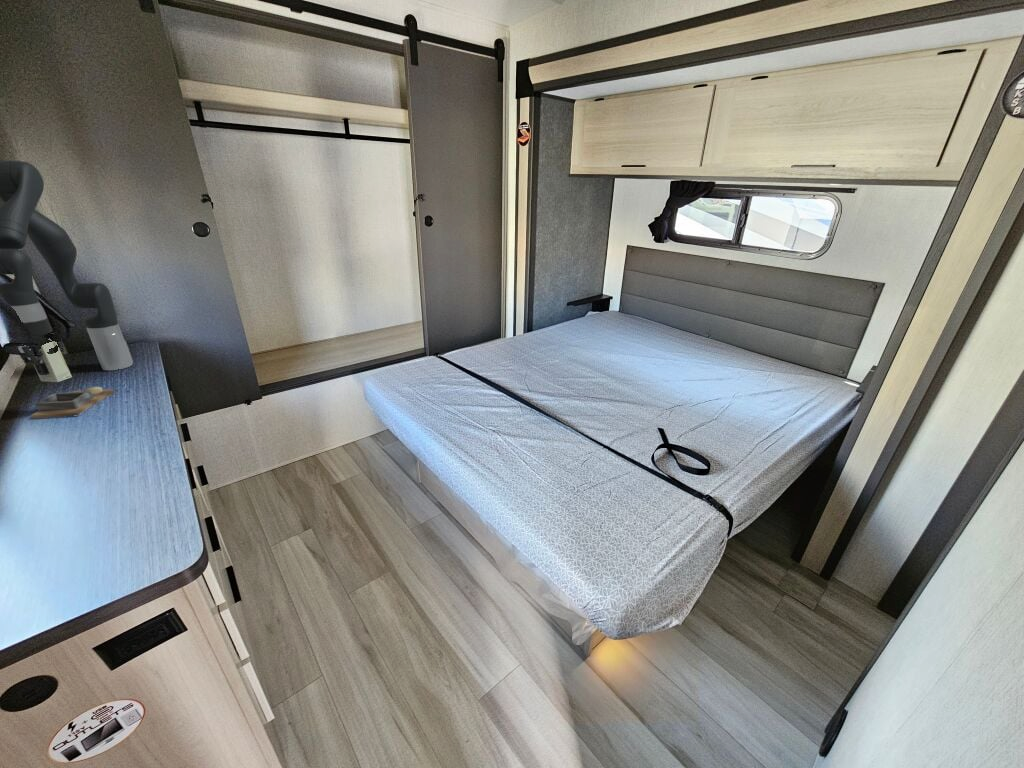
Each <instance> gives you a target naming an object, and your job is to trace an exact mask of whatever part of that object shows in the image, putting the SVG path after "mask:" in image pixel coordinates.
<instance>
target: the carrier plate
mask: <svg viewBox="0 0 1024 768" xmlns="http://www.w3.org/2000/svg"><path fill="white" fill-rule="evenodd" d="M112 393H113V394H114V393H115V390H114V389H113V388H105V389H103V388H102V387H101V386H92V387H89V388H85V389H83V390H72V391H67V392H54V393H52V394H50V395H48V396H46V397H45V398H42V399H41V400H39V401H38V402H36V403H35V407H36V410H37V411H36V412H34V413H32V414H30V417H31V419H32V420H35V419H38V418H39V419H51V418H50V417H57V418H65V417H64V416H74V415H79V414H80V413H82V412H83V411H85V410H86V409H88V408H90V407H91V406H93V405H94V404H96V403H97V402H99V401H101V400H102V399H104V398H105V397H107V396H108V397H110V396H111V395H112ZM110 394H111V395H110ZM109 395H110V396H109ZM108 397H107V398H108ZM105 399H106V398H105ZM105 399H104V400H105ZM102 401H103V400H102ZM102 401H101V402H102ZM99 403H100V402H99ZM96 405H97V404H96ZM93 407H94V406H93ZM90 409H91V408H90ZM48 417H49V418H48Z"/></svg>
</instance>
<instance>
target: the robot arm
mask: <svg viewBox="0 0 1024 768" xmlns="http://www.w3.org/2000/svg"><path fill="white" fill-rule="evenodd" d="M40 172H41V171H40V170H39V169H38V168H37V167H36V166H35V165H33V164H32V163H30V162H27V161H21V160H0V199H1V200H2V202H3V204H2V205H1V206H0V276H1V275H2V276H3V275H6V276H7V275H13V277H14V278H13V281H11V282H5V283H1V284H0V295H1V296H2V297H3V298H4V300H5V301H6V302H7V303H8V304H10V305H11V307H12V308H13V309H14V310H15V311H16V313H17V315H18V316H19V318H20V320H21V322H23V323H24V324H25V327H27V330H28V331H29V333H31V336H40V335H45V334H48V333H50V334H52V332H53V328H52V326H51V324H50V321H49V318H48V316H47V314H46V311H45V309H44V307H43V306H42V303H41V302H40V300H39V298H38V295H37V293H36V291H35V288H34V287H35V286H34V281H33V262H32V259H31V257H30V256H29V255H28V254H27V253H26V252H25V251H23V250H22V249H23V248H24V247H25V246H26V243H27V236H28V238H29V240H30V241H31V242H32V244H33V245H34V247H35V248H36V250H37V251H38V253H39V254H40V255H41V257H42V258H43V259H44V260H45V262H46V263H47V265H48V267H49V268H50V270H51V271H52V273H53V275H54V276H55V278H56V280H57V282H58V283H59V286H60V287H61V289H62V290H63V292H64V295H65V296H66V298H67V300H68V301H69V302H70V304H71V305H73V307H75V308H77V309H96V310H97V314H95V315H92V316H89V317H87V318H85V319H83V321H84V322H83V324H84V326H85V327H86V331H87V333H88V335H89V338H90V341H91V343H92V346H93V348H94V351H95V353H96V357H97V359H98V361H99V364H100V366H101V368H102V370H103V371H119V370H122V369H126V368H127V369H128V368H129V367H131V366H133V363H134V360H133V357H132V354H131V352H130V348H129V347H128V343H127V341H126V340H125V337H124V335H123V333H122V330H121V327H120V324H119V321H118V317H117V316H118V315H117V311H116V308H115V305H114V302H113V297H112V294H111V291H110V290H109V288H108V286H106V285H105V284H104V283H101V282H90V283H89V282H87V283H86V282H81V283H80V282H79V281H78V279H77V278H76V276H75V274H74V267H75V263H76V259H77V254H78V253H77V248H76V246H75V244H74V242H73V240H72V239H71V238H70V236H69V234H68V233H67V231H66V230H65V229H64V228H63V227H62V226H61V225H59V224H58V223H56V222H55V221H53V219H50V218H49V217H47V216H46V215H44V214H42V213H41V212H39V210H37V209H36V207H37V206H38V204H39V200H40V199H41V197H42V194H43V192H44V190H45V189H44V187H45V183H44V182H45V181H44V178H43V176H42V174H41V173H40ZM48 340H50V341H52V340H51V339H50V338H49V339H48ZM59 349H60V351H61V353H64V352H65V349H64V345H63V341H62V339H61V341H60V343H59ZM14 350H15V351H16V352H17V351H18V352H20V353H22V354H18V355H19V357H20V358H21V359H22V360H23V362H24V364H25V365H33V364H34V365H33V366H35V367H34V369H35V368H36V369H35V371H36V370H37V371H36V373H37V372H38V373H37V375H38V374H39V375H47V374H49V371H48V369H47V367H46V365H45V363H44V359H43V357H42V356H43V355H40V356H38V360H37V359H36V356H31V355H34V354H33V353H32V352H31V349H29V346H26V345H24V346H21V345H20V346H18V345H17V346H16V345H15V347H14ZM18 352H17V353H18ZM38 354H43V353H42V351H41V350H39V353H38ZM118 369H119V370H118ZM39 375H38V376H39Z"/></svg>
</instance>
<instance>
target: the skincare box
mask: <svg viewBox="0 0 1024 768" xmlns="http://www.w3.org/2000/svg"><path fill="white" fill-rule="evenodd" d="M56 345H57V346H58V344H57V342H55V341H52V342H49V343H46V344H44V345H42V346H41V349H40V350H41V351H42V353H43V356H42V357H43V359H44V363H45V365H46V367H47V369H48V371H49V374H47V375H39V374H38V372H37V370H36V368H35V366H34V364H32V365H33V366H34V369H35V371H36V373H37V375H38V377H39V380H40V382H47V383H48V382H51V383H52V382H53V383H59V382H62V381H65V380H67V379H71V378H73V376H72V374H71V371H70V369H69V367H68V365H67V362H66V360H65V358H64V356H63V354H62V353H63V352H61V351H60V349H59V347H58V351H57V352H56V353H53V354H48V353H47V352H49V349H51V348H54V347H55V346H56ZM36 359H37V360H38V356H36Z"/></svg>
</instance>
